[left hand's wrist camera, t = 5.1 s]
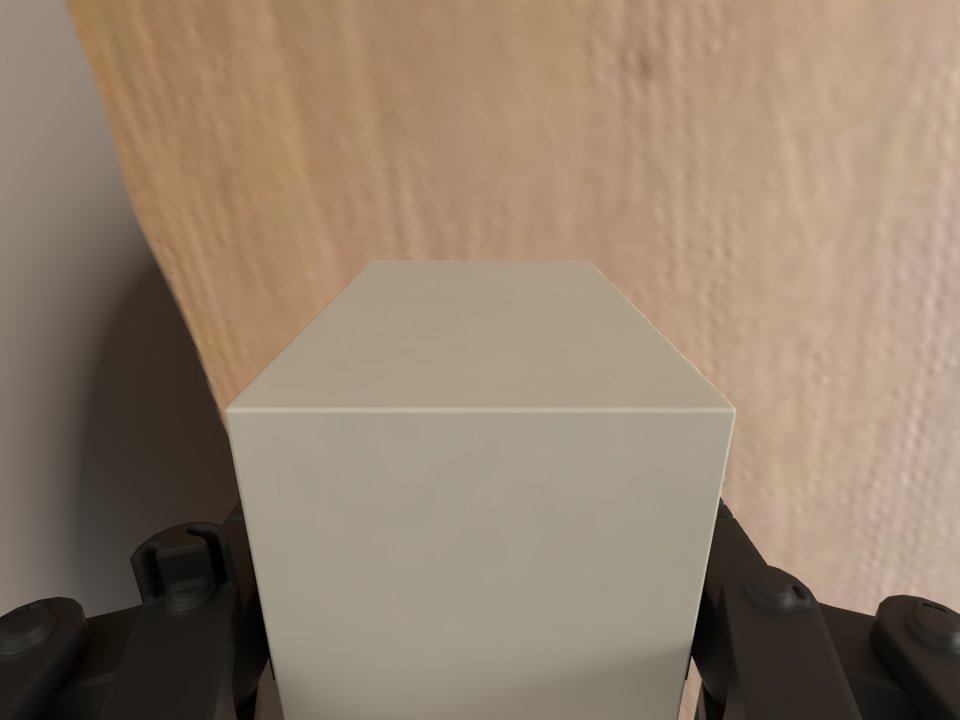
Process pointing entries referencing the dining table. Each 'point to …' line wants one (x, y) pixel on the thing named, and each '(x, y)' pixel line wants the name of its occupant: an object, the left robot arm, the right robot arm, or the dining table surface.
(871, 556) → the dining table surface
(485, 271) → the bar
